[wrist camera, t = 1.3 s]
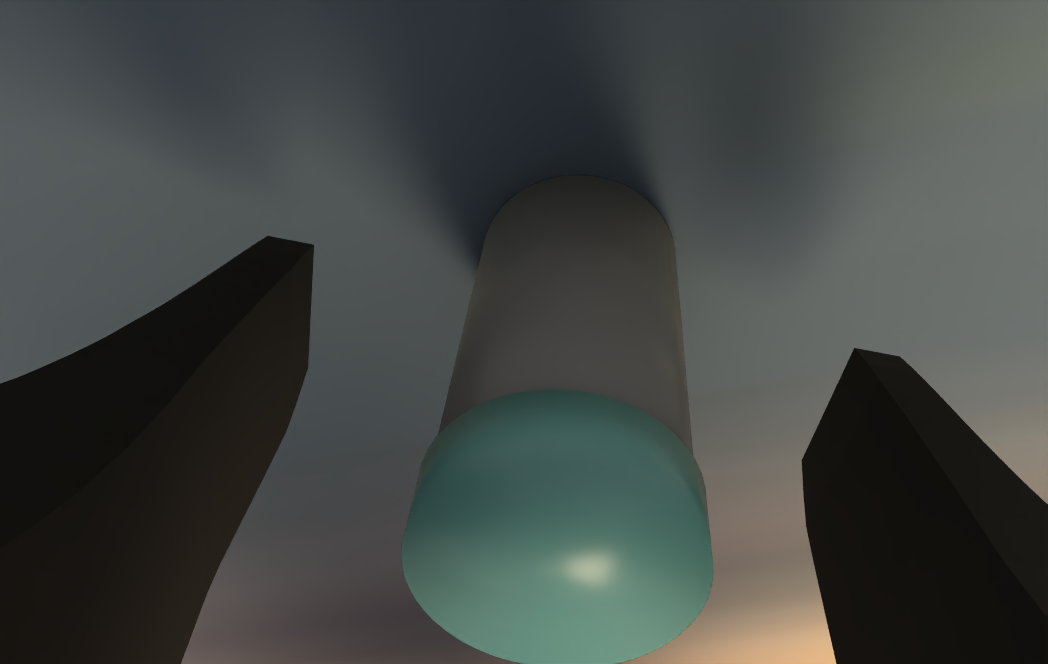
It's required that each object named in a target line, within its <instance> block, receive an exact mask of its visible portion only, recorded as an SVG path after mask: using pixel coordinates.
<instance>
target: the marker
mask: <svg viewBox="0 0 1048 664" xmlns="http://www.w3.org/2000/svg"><path fill="white" fill-rule="evenodd" d="M401 560H402V567H403V573H404V576H405V579H406V582H407V585H408V587H409V588H410V590H411V592H412V594H413V596H414V598H415V599H416V601H417V602H418V603H419V605H420V606H421V607H422V609H423V610H424V611H425V612H426V613H427V614H428V615H429V616H430V617H431V618H432V619H433V621H435V622H436V623H437V624H438V625H439V626H441V627H442V628H443V629H444V630H445V631H447V632H448V633H450V634H451V635H453V636H454V637H456V638H457V639H459V640H460V641H462V642H464V643H466V644H468V645H470V646H472V647H474V648H476V649H478V650H480V651H483V652H485V653H488V654H490V655H492V656H495V657H499V658H502V659H505V660H508V661H512V662H516V663H521V664H617V663H621V662H624V661H628V660H631V659H635V658H638V657H640V656H642V655H645V654H647V653H650V652H652V651H654V650H656V649H658V648H660V647H662V646H663V645H665V644H667V643H668V642H670V641H671V640H673V639H674V638H675V637H677V636H678V635H680V634H681V633H682V632H683V631H684V630H685V629H686V628H687V627H688V626H689V625H690V624H691V623H692V622H693V621H694V620H695V618H696V617H697V616H698V615H699V613H700V612H701V610H702V608H703V606H704V605H705V603H706V601H707V599H708V595H709V592H710V589H711V586H712V578H713V562H712V551H711V540H710V530H709V520H708V510H707V500H706V490H705V485H704V481H703V477H702V473H701V471H700V469H699V467H698V464H697V462H696V460H695V458H694V457H693V449H692V437H691V426H690V414H689V403H688V392H687V380H686V369H685V357H684V346H683V334H682V323H681V311H680V300H679V289H678V277H677V266H676V254H675V246H674V242H673V238H672V235H671V233H670V230H669V228H668V226H667V224H666V222H665V221H664V219H663V217H662V216H661V215H660V213H659V212H658V211H657V210H656V208H655V207H654V206H653V205H652V204H651V203H650V202H649V201H648V200H646V199H645V198H644V197H643V196H641V195H640V194H638V193H637V192H636V191H634V190H632V189H630V188H628V187H627V186H625V185H623V184H620V183H617V182H615V181H612V180H609V179H605V178H601V177H595V176H588V175H568V176H559V177H554V178H550V179H546V180H543V181H541V182H538V183H535V184H533V185H531V186H529V187H527V188H525V189H523V190H522V191H520V192H519V193H517V194H516V195H515V196H513V197H512V198H511V199H510V200H509V201H508V202H506V203H505V204H504V205H503V207H502V208H501V209H500V210H499V211H498V213H497V214H496V216H495V217H494V219H493V221H492V222H491V224H490V226H489V229H488V231H487V233H486V237H485V241H484V245H483V249H482V253H481V258H480V262H479V266H478V270H477V274H476V278H475V283H474V287H473V291H472V295H471V299H470V303H469V308H468V312H467V316H466V320H465V324H464V328H463V333H462V337H461V341H460V345H459V349H458V353H457V358H456V362H455V366H454V370H453V374H452V379H451V383H450V387H449V391H448V395H447V399H446V404H445V408H444V412H443V416H442V420H441V424H440V429H439V433H438V436H437V437H436V438H435V440H434V441H433V443H432V444H431V446H430V447H429V449H428V450H427V453H426V455H425V457H424V459H423V462H422V465H421V469H420V473H419V477H418V481H417V485H416V489H415V493H414V497H413V501H412V505H411V509H410V513H409V517H408V521H407V525H406V529H405V533H404V537H403V541H402V550H401Z"/></svg>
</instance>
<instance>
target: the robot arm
mask: <svg viewBox="0 0 1048 664" xmlns="http://www.w3.org/2000/svg"><path fill="white" fill-rule="evenodd" d="M313 254H314V245H312V244H307V243H302V242H297V241H291V240H286V239H281V238H276V237H271V236H267V237H265V238H264V239H262V240H261V241H259V242H257V243H256V244H254V245H253V246H251V247H250V248H248V249H247V250H245V251H244V252H242V253H241V254H239V255H238V256H236V257H235V258H233V259H232V260H230V261H229V262H227V263H226V264H224V265H223V266H221V267H220V268H218V269H217V270H215V271H214V272H212V273H211V274H209V275H208V276H206V277H205V278H203V279H202V280H201V281H199V282H197V283H196V284H194V285H193V286H191V287H190V288H188V289H187V290H185V291H183V292H182V293H180V294H179V295H177V296H176V297H174V298H172V299H171V300H169V301H168V302H166V303H165V304H163V305H161V306H160V307H158V308H156V309H154V310H153V311H151V312H149V313H147V314H146V315H144V316H142V317H140V318H139V319H137V320H135V321H133V322H131V323H130V324H128V325H126V326H124V327H123V328H121V329H119V330H117V331H116V332H114V333H112V334H110V335H109V336H107V337H105V338H103V339H101V340H99V341H97V342H95V343H93V344H91V345H89V346H87V347H85V348H83V349H81V350H79V351H77V352H75V353H73V354H71V355H68V356H66V357H64V358H62V359H59V360H57V361H55V362H53V363H50V364H48V365H46V366H44V367H41V368H39V369H37V370H35V371H32V372H30V373H27V374H25V375H22V376H20V377H18V378H15V379H12V380H9V381H7V382H4V383H1V384H0V664H181V662H182V659H183V656H184V653H185V651H186V648H187V645H188V643H189V640H190V637H191V635H192V632H193V629H194V627H195V624H196V621H197V619H198V616H199V613H200V611H201V608H202V605H203V603H204V600H205V597H206V595H207V592H208V590H209V588H210V585H211V583H212V581H213V579H214V576H215V574H216V572H217V570H218V567H219V565H220V563H221V561H222V559H223V557H224V555H225V553H226V551H227V549H228V547H229V545H230V543H231V541H232V539H233V537H234V535H235V533H236V531H237V529H238V527H239V525H240V523H241V521H242V519H243V517H244V515H245V513H246V511H247V509H248V507H249V505H250V503H251V501H252V499H253V497H254V495H255V493H256V491H257V489H258V487H259V485H260V484H261V482H262V480H263V478H264V476H265V474H266V471H267V469H268V467H269V465H270V463H271V461H272V459H273V457H274V455H275V453H276V451H277V449H278V447H279V445H280V443H281V441H282V439H283V437H284V435H285V433H286V431H287V428H288V425H289V422H290V420H291V417H292V414H293V411H294V408H295V405H296V403H297V400H298V396H299V393H300V390H301V387H302V384H303V381H304V378H305V375H306V372H307V369H308V357H309V336H310V316H311V295H312V274H313ZM802 473H803V492H804V505H805V517H806V527H807V532H808V537H809V542H810V547H811V552H812V556H813V561H814V566H815V570H816V575H817V579H818V584H819V588H820V593H821V597H822V602H823V606H824V610H825V615H826V619H827V624H828V628H829V633H830V637H831V641H832V646H833V650H834V655H835V659H836V664H1048V504H1047V503H1045V502H1044V501H1043V500H1042V499H1041V498H1040V497H1039V496H1038V495H1037V494H1036V493H1035V492H1034V491H1032V490H1031V489H1030V488H1029V487H1028V486H1027V485H1026V484H1025V483H1024V482H1023V481H1022V480H1021V479H1020V478H1019V477H1018V476H1017V475H1016V474H1015V473H1014V472H1013V471H1012V470H1011V469H1010V468H1009V467H1008V466H1007V465H1006V464H1005V463H1004V462H1003V461H1002V460H1001V459H1000V458H999V457H998V456H997V455H996V454H995V453H994V452H993V451H992V450H991V449H990V448H989V447H988V446H987V445H986V444H985V443H984V442H983V441H982V440H981V439H980V438H979V436H978V435H977V434H976V433H975V432H974V431H973V430H972V429H971V428H970V427H969V426H968V425H967V424H966V423H965V422H964V421H963V420H962V419H961V418H960V417H959V416H958V414H957V413H956V412H955V411H954V410H953V409H952V408H951V407H950V406H949V405H948V404H947V403H946V402H945V401H944V400H943V399H942V398H941V397H940V396H939V394H938V393H937V392H936V391H935V390H934V389H933V388H932V387H931V386H930V385H929V384H928V383H927V382H926V381H925V380H924V379H923V378H922V377H921V376H920V375H919V374H918V373H917V372H916V371H915V370H914V369H913V368H912V367H911V366H910V365H908V364H907V363H906V362H905V361H904V360H903V359H902V358H901V357H899V356H894V355H889V354H883V353H878V352H873V351H868V350H862V349H857V348H854V350H853V352H852V354H851V356H850V359H849V361H848V363H847V365H846V367H845V369H844V371H843V373H842V376H841V378H840V380H839V382H838V384H837V386H836V388H835V390H834V393H833V395H832V397H831V399H830V401H829V403H828V405H827V408H826V410H825V412H824V414H823V416H822V418H821V420H820V422H819V425H818V427H817V429H816V431H815V433H814V435H813V437H812V440H811V442H810V444H809V446H808V448H807V450H806V452H805V454H804V457H803V459H802Z"/></svg>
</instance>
